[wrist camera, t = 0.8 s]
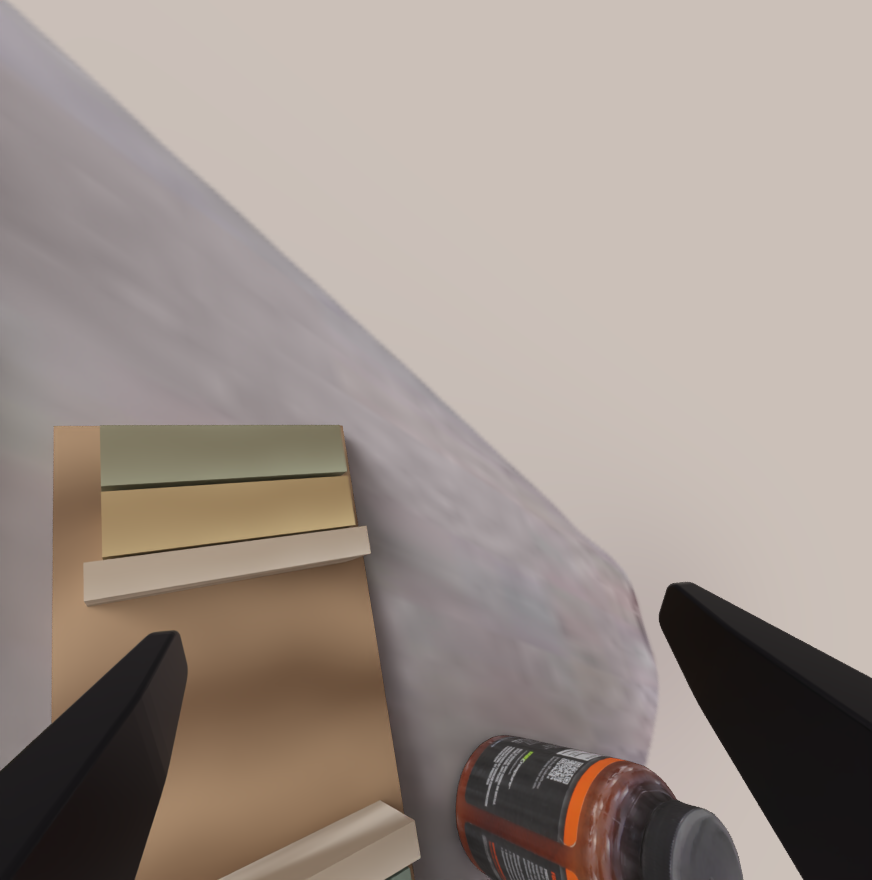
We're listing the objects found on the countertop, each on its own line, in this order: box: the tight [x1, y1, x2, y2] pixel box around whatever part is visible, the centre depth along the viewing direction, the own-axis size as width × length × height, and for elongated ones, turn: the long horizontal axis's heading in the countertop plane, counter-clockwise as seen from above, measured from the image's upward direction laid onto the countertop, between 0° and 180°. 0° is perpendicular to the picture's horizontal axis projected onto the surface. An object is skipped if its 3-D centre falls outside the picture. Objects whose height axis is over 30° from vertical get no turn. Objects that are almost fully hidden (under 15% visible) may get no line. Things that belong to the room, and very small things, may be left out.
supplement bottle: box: [456, 736, 743, 880], centre depth 20 cm, size 6×6×11 cm
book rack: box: [52, 425, 421, 880], centre depth 18 cm, size 24×12×4 cm, turn 13°
